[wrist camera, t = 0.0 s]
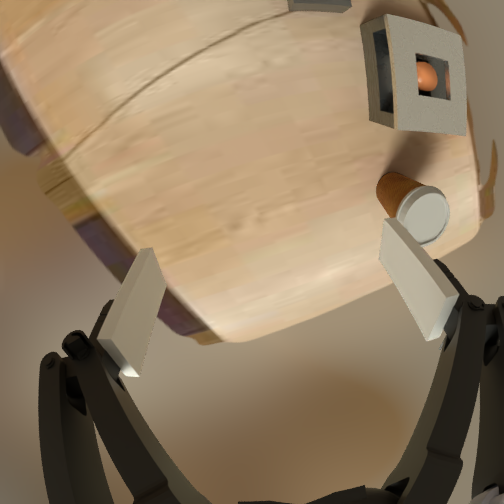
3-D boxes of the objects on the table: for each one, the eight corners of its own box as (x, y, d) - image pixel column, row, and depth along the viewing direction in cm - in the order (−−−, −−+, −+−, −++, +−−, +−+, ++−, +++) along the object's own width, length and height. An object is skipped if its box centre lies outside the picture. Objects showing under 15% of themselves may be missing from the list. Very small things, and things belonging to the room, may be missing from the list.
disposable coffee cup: (360, 207, 44) (390, 244, 34) (377, 156, 39) (416, 181, 29) (402, 218, 45) (435, 254, 35) (420, 172, 40) (460, 199, 30)
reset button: (398, 60, 27) (412, 59, 24) (421, 64, 27) (436, 64, 24) (400, 87, 30) (414, 89, 26) (423, 90, 29) (438, 93, 26)
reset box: (359, 25, 27) (386, 13, 19) (427, 38, 26) (460, 35, 19) (369, 120, 36) (397, 130, 28) (433, 124, 35) (465, 136, 27)
